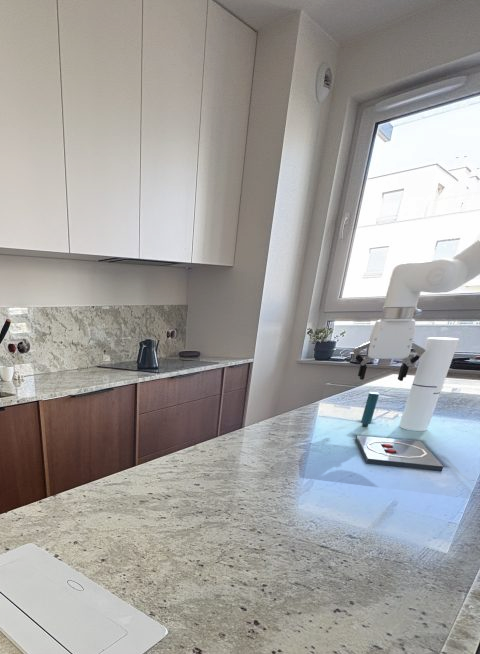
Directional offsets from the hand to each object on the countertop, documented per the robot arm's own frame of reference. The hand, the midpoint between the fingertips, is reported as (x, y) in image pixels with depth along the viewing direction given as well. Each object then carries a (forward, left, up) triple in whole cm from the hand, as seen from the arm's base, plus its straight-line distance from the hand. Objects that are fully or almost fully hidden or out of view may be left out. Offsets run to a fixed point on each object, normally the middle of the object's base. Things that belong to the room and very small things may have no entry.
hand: (380, 379), depth 122 cm
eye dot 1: (-1, +24, -14) cm, 27 cm away
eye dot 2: (-1, +28, -14) cm, 31 cm away
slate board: (-3, +26, -14) cm, 29 cm away
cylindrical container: (-13, -3, -14) cm, 19 cm away
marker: (+1, 0, -14) cm, 14 cm away
